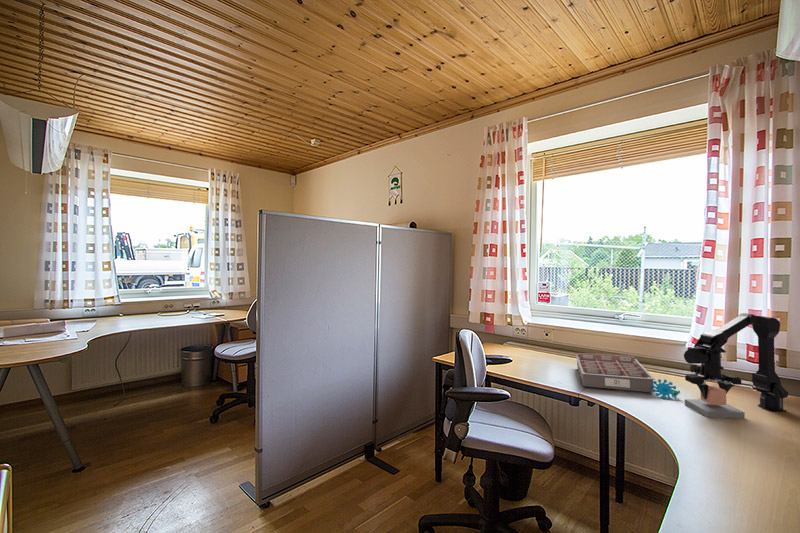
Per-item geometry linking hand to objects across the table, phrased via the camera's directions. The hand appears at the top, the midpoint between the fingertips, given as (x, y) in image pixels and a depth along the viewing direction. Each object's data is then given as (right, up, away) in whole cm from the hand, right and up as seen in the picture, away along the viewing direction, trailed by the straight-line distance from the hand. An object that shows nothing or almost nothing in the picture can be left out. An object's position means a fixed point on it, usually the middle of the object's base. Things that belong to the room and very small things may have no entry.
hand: (713, 399), depth 157 cm
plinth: (0, -5, 0) cm, 5 cm away
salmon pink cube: (0, -1, 0) cm, 1 cm away
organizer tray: (-18, -6, +44) cm, 48 cm away
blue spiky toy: (-8, -6, +18) cm, 20 cm away
